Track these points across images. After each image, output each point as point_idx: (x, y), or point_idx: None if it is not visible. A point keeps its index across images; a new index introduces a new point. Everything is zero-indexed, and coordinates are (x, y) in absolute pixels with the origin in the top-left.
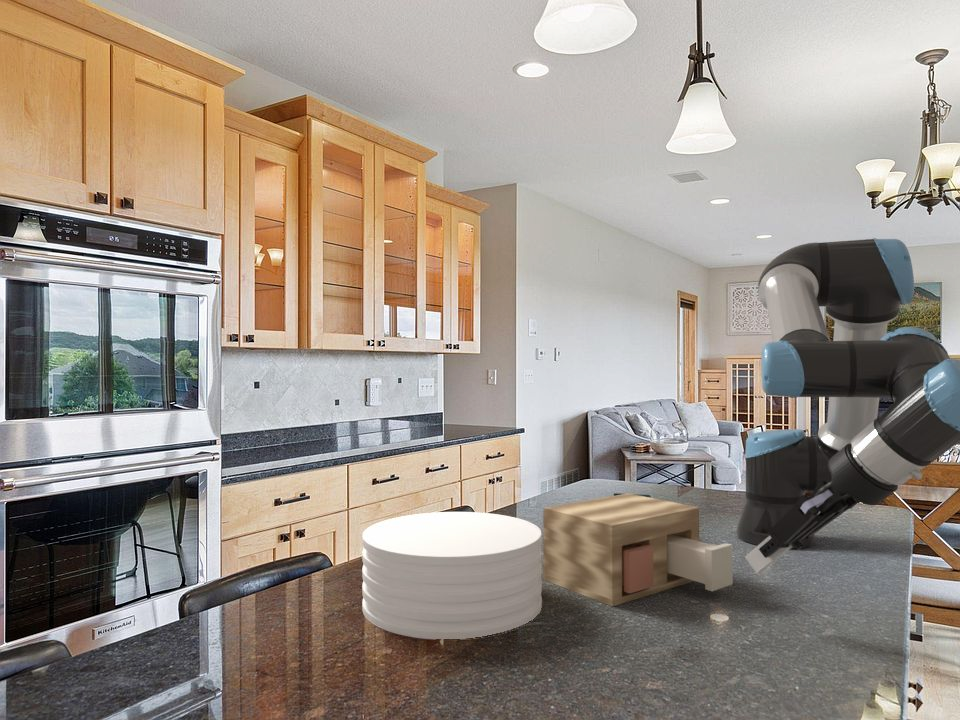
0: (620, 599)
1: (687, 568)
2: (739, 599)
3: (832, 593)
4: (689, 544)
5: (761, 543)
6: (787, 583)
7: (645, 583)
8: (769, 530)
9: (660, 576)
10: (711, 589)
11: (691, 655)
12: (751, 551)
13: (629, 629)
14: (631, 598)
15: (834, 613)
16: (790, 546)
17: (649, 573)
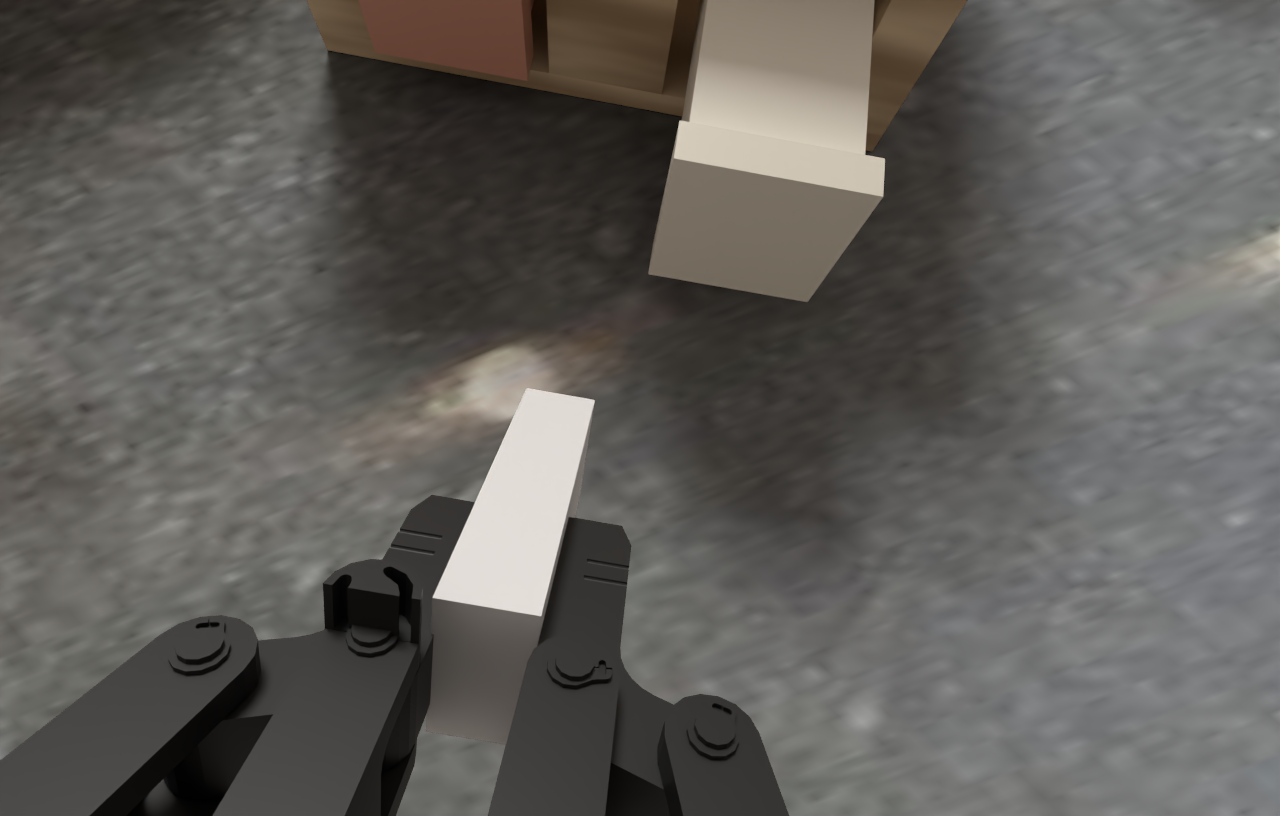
0: (368, 45)
1: (684, 115)
2: (771, 361)
3: (1173, 633)
4: (774, 21)
5: (484, 488)
6: (1129, 432)
7: (472, 54)
8: (187, 635)
9: (620, 58)
10: (649, 268)
11: (21, 473)
12: (512, 423)
13: (140, 192)
14: (436, 65)
15: (924, 739)
16: (499, 735)
17: (496, 28)
